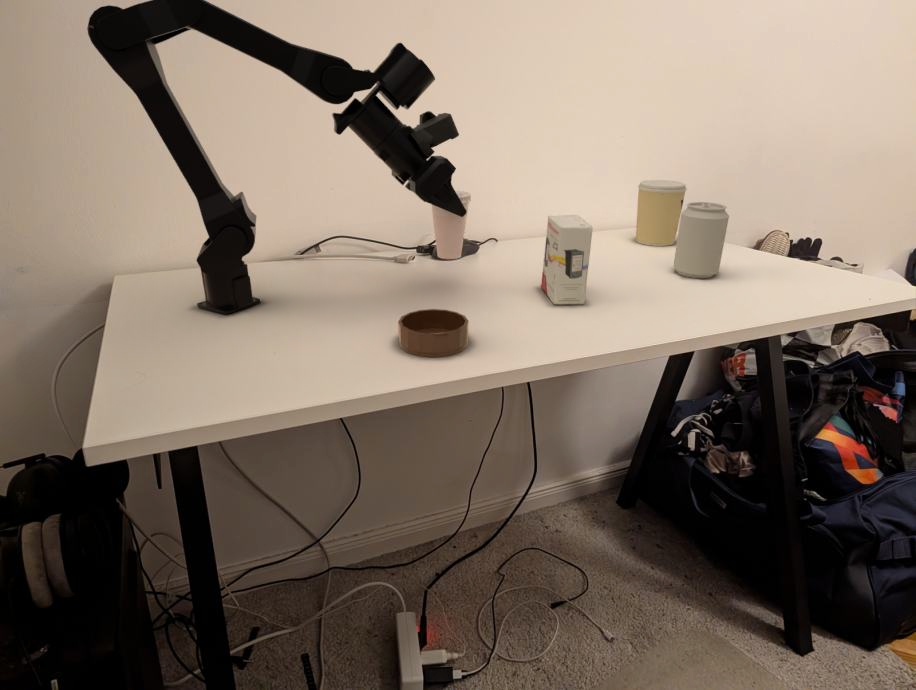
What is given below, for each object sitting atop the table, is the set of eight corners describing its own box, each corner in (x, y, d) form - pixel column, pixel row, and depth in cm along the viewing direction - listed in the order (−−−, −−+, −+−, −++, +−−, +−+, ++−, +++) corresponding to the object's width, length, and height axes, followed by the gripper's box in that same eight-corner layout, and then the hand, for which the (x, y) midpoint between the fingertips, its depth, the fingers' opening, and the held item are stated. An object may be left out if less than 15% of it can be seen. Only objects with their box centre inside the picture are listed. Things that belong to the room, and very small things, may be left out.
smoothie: (433, 250, 99) (433, 160, 93) (472, 252, 98) (474, 162, 92) (425, 260, 93) (424, 165, 87) (466, 262, 92) (468, 167, 86)
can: (672, 277, 103) (683, 206, 99) (672, 266, 110) (682, 199, 105) (719, 281, 101) (733, 209, 97) (716, 269, 108) (728, 201, 103)
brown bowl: (385, 347, 75) (384, 324, 74) (424, 325, 82) (423, 304, 81) (444, 362, 71) (444, 339, 70) (479, 338, 78) (480, 316, 77)
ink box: (540, 288, 97) (545, 214, 93) (571, 287, 98) (577, 214, 93) (553, 306, 89) (559, 226, 85) (586, 305, 90) (594, 226, 85)
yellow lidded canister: (687, 245, 124) (696, 185, 119) (646, 248, 122) (655, 187, 117) (661, 235, 132) (669, 179, 128) (623, 237, 130) (630, 180, 125)
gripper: (441, 92, 77) (517, 180, 84) (410, 90, 93) (476, 164, 100) (381, 158, 78) (461, 239, 85) (361, 144, 94) (430, 213, 101)
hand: (458, 210), depth 93 cm, fingers closed on smoothie, 6 cm apart
